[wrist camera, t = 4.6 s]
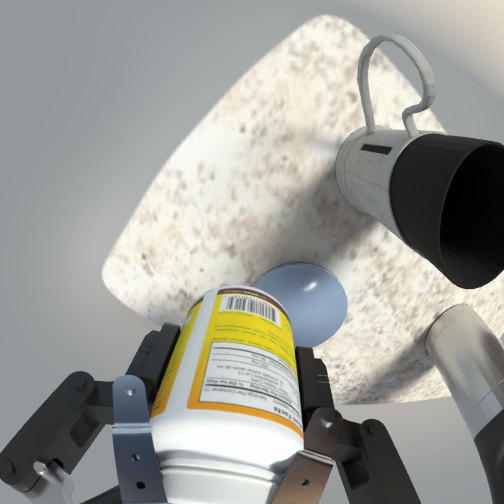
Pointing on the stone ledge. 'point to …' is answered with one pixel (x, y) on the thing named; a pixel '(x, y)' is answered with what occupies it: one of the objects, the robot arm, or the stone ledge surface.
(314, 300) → the coaster
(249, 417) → the supplement bottle
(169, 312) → the stone ledge surface
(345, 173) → the tall grey black mug
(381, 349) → the stone ledge surface
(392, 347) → the stone ledge surface
